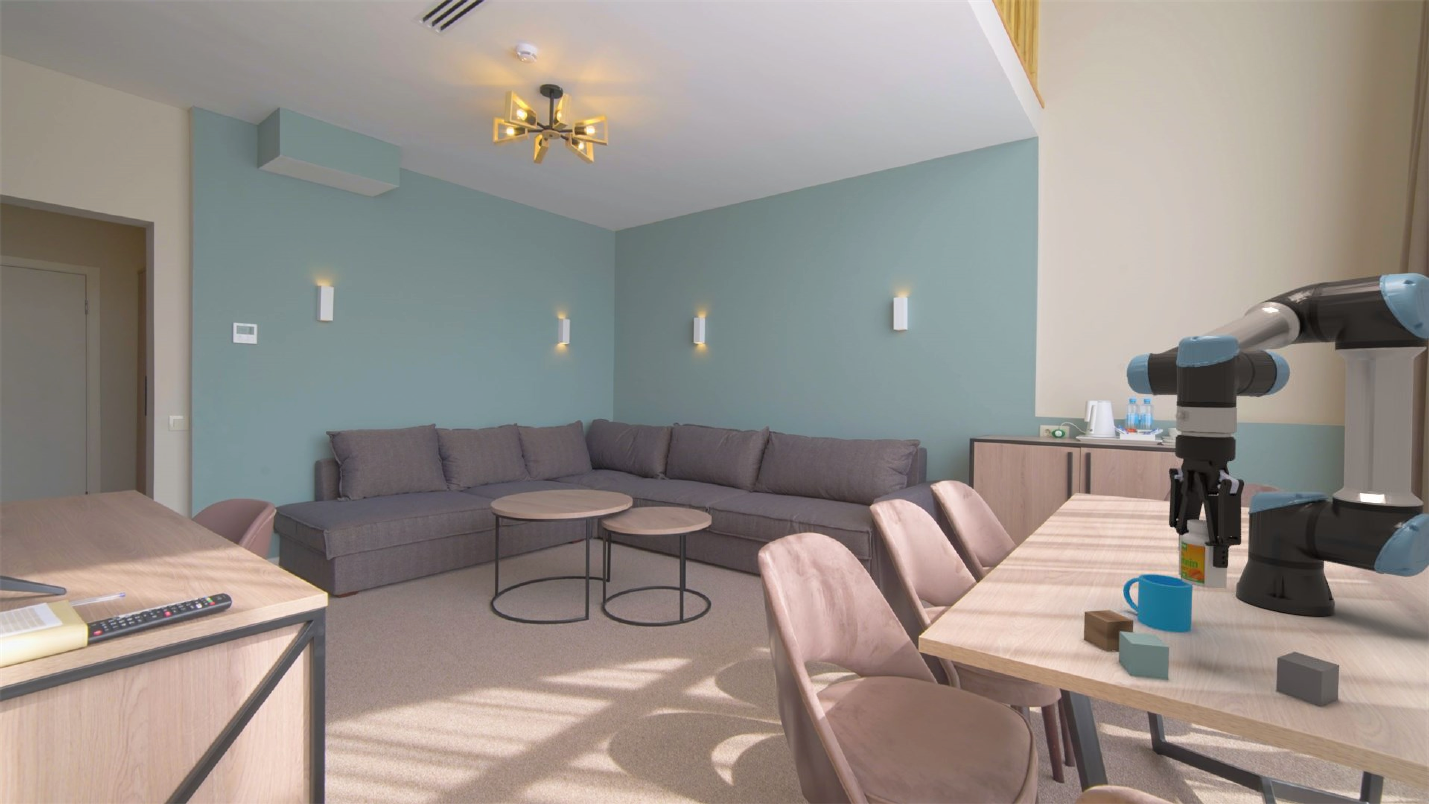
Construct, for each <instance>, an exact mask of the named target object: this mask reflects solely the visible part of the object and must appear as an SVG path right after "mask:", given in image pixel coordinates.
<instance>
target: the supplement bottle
mask: <svg viewBox="0 0 1429 804" xmlns="http://www.w3.org/2000/svg"><path fill="white" fill-rule="evenodd" d="M1187 529H1188V530H1189V533H1186V534H1184V535H1183V536H1182V543H1181V575H1180V579H1181V580H1182V581H1183V582H1185V583H1188V584H1191V585H1192V586H1196V587H1201V588H1207V587H1205V586H1204V579H1205V542H1210V541H1209V535H1208V528H1207V522H1206V519H1205V520H1204V519H1199V520H1188V521H1187ZM1207 589H1208V588H1207Z"/></svg>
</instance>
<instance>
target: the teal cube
mask: <svg viewBox="0 0 1429 804" xmlns="http://www.w3.org/2000/svg"><path fill="white" fill-rule="evenodd" d="M1118 663H1119V664H1120V665H1121V667H1122V668H1123V669H1124V670H1125V671H1126V672H1127V673H1128V674H1129V675H1130V676H1131V677H1140V678H1151V679H1157V680H1158V679H1159V680H1166V681H1168V680H1169V673H1170V672H1169V670H1170V669H1169V668H1170V667H1169V666H1170V647H1169V645H1168V644H1166V643H1165V642H1164V641H1163V640H1162V639H1161V638H1160V637H1159V636H1158V635H1156V634H1151V633H1140V632H1133V633H1131V632H1121V631H1120V632H1119V651H1118Z"/></svg>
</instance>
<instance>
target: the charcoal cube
mask: <svg viewBox="0 0 1429 804" xmlns="http://www.w3.org/2000/svg"><path fill="white" fill-rule="evenodd" d="M1276 661H1277V663H1276V664H1277V665H1276V690H1275V692H1278V693H1280V694H1284V695H1286V696H1287V697H1288V696H1289V697H1291V698H1295V699H1297V700H1301V701H1303V702H1305V703H1309V704H1312V705H1315V706H1318V707H1321V708H1322V707H1325V706H1326V705H1327V706H1328V704H1331V703H1333V702H1335V701H1337V700H1339V684H1340V683H1339V680H1340V678H1339V677H1340V664H1337V663H1333V662H1330V661H1327V660H1323V659H1320V658H1317V657H1314V656H1310V655H1307V654H1304V653H1300V652H1298V651H1292V652H1290V653H1286V654H1285V655H1281V656H1278V657H1277V660H1276Z"/></svg>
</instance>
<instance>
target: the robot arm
mask: <svg viewBox="0 0 1429 804" xmlns="http://www.w3.org/2000/svg"><path fill="white" fill-rule="evenodd" d="M1428 340H1429V277H1428V276H1426V275H1423V274H1420V273H1416V272H1411V273H1410V272H1409V273H1396V274H1395V273H1394V274H1393V273H1389V274H1383V275H1374V276H1366V277H1358V278H1353V279H1352V278H1351V279H1344V280H1336V281H1327V282H1326V281H1325V282H1317V283H1313V284H1308V285H1304V286H1301V287H1297V288H1295V289H1292V290H1289V291H1287V292H1284V293H1282V294H1278V295H1277V296H1273V297H1271V298H1268V299H1266V300H1264V301H1262V302H1259V303H1257V304H1255V305H1253V306H1252V307H1250V308H1249V309H1248V310H1247V311H1246V312H1245V314H1244V315H1243V316H1242V317H1239V318H1237V319H1235V320H1232V321H1230V322H1228V323H1226V324H1224V325H1222V326H1219V327H1217V328H1215V329H1213V330H1211V331H1208V332H1206V333H1204V334H1201V335H1191V336H1186V337H1183V338H1181V339H1180V340H1179V342H1178V346H1175V347H1173V348H1170V349H1168V350H1166V351H1164V352H1159V353H1153V352H1152V353H1151V352H1149V353H1145V354H1139V355H1136V356H1134V357H1133V358H1132V359H1131V360H1130V361H1129V363H1128V366H1127V369H1126V378H1127V379H1126V380H1127V384H1128V386H1129V388H1130V389H1131V390H1132V391H1133V392H1135V393H1137V394H1140V395H1150V396H1151V395H1152V396H1153V397H1156V396H1176V414H1175V419H1176V420H1175V422H1176V423H1175V424H1176V425H1175V426H1176V427H1175V429H1176V432H1180V434H1177V435H1176V436H1175V443H1174V444H1175V445H1174V446H1175V447H1174V449H1175V452H1174V454H1175V457H1177V458H1178V459H1181V460H1182V463H1181V466H1180V467H1179V468H1178V467H1177V468H1171V467H1170V468H1168V469H1169V470H1168V473H1169V479H1170V492H1169V516H1168V525H1169V527H1170V528H1174V529H1175V531H1176V533H1177V534H1178V576H1181V543H1182V536H1183V535H1184V534H1186V533H1189V530H1188V529H1187V521H1188V520H1200V516H1201V512H1202V509H1204V516H1205V520H1206V522H1207V528H1208V535H1209V541H1210V542H1205V579H1204V586H1205V587H1204V588H1206V587H1207V589H1227V580H1228V579H1227V577H1228V574H1227V573H1228V567H1229V550H1230V547H1233V546H1241V544H1242V493H1243V491H1244V488H1245V481H1244V479H1242V478H1241V479H1240V478H1236V479H1235V478H1233V477H1232V476H1230V472H1229V469H1228V463H1229V462H1233V461H1234V460H1236V451H1237V450H1236V448H1237V446H1236V445H1237V443H1236V442H1237V439H1236V438H1235V437H1234V436H1232V434H1234V433H1235V434H1236V433H1237V425H1238V424H1237V423H1238V421H1237V420H1238V419H1237V415H1238V414H1237V412H1238V411H1237V409H1238V408H1237V403H1238V402H1237V398H1238V397H1252V398H1253V397H1256V398H1261V397H1264V396H1270V395H1273V394H1276V393H1278V392H1280V391H1281V390H1282V389H1284V387H1285V386H1286V385H1287V383H1288V382H1289V379H1290V377H1291V376H1290V374H1291V371H1290V367H1289V363H1288V362H1287V360H1286V359H1285V358H1284V357H1283V356H1281V354H1279V353H1276V352H1273V351H1270V350H1279V349H1283V348H1285V347H1288V346H1290V345H1296V344H1297V345H1299V344H1314V343H1315V344H1316V343H1318V344H1319V343H1321V344H1322V343H1325V344H1326V343H1334V353H1337V354H1338V355H1339V356H1340V357H1342V358H1343V359H1344V361H1345V394H1344V395H1345V399H1344V400H1345V403H1344V407H1345V408H1344V455H1343V456H1344V460H1343V461H1344V464H1343V465H1344V466H1343V470H1344V471H1343V487H1342V488H1341V489H1339V490H1338V491H1335V492H1334V493H1332V501H1328V500H1329V497H1328V496H1327V494H1326V493H1325V492H1319V491H1301V490H1300V491H1297V490H1295V491H1291V490H1290V491H1288V490H1286V491H1283V490H1282V491H1261V492H1256V493H1254V494H1253V495H1252V496H1251V497H1250V502H1249V509H1248V512H1247V513H1248V514H1247V515H1248V542H1247V548H1248V549H1247V551H1248V552H1247V562H1246V564H1245V566H1244V569H1243V571H1242V572H1241V574H1240V577H1239V580H1238V582H1237V583H1236V587H1235V596H1236V598H1238V599H1239V600H1240V601H1243V602H1245V603H1247V604H1250V605H1252V606H1255V607H1259V608H1264V609H1268V610H1272V611H1276V612H1280V613H1286V614H1287V613H1288V614H1292V615H1299V616H1300V615H1302V616H1312V617H1313V616H1314V617H1325V616H1332V615H1334V614H1335V613H1336V612H1335V611H1336V601H1335V598H1334V596H1333V593H1332V591H1331V588H1330V585H1329V582H1328V580H1327V578H1326V577H1327V576H1326V574H1325V572H1324V571H1325V562H1326V563H1332V564H1337V565H1343V566H1347V567H1352V568H1356V569H1362V570H1366V571H1371V572H1375V573H1377V574H1379V575H1384V574H1385V575H1391V576H1397V577H1398V576H1399V577H1403V578H1409V577H1414V576H1418V575H1420V574H1421V573H1423V572H1424V571H1425V570H1426V569H1427V568H1428V567H1429V513H1424V501H1423V500H1421V499H1420V498H1419V497H1417V496H1416V495H1415V494H1414V493H1413V492H1412V461H1413V460H1412V454H1413V452H1412V451H1413V413H1414V411H1413V407H1414V405H1413V404H1414V401H1413V400H1414V399H1413V397H1414V366H1415V365H1414V364H1415V363H1414V359H1415V358H1416V357H1417V356H1419V355H1420V354H1421V353H1423V352H1425V350H1427V345H1428V344H1427V343H1428V342H1427V341H1428Z"/></svg>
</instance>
